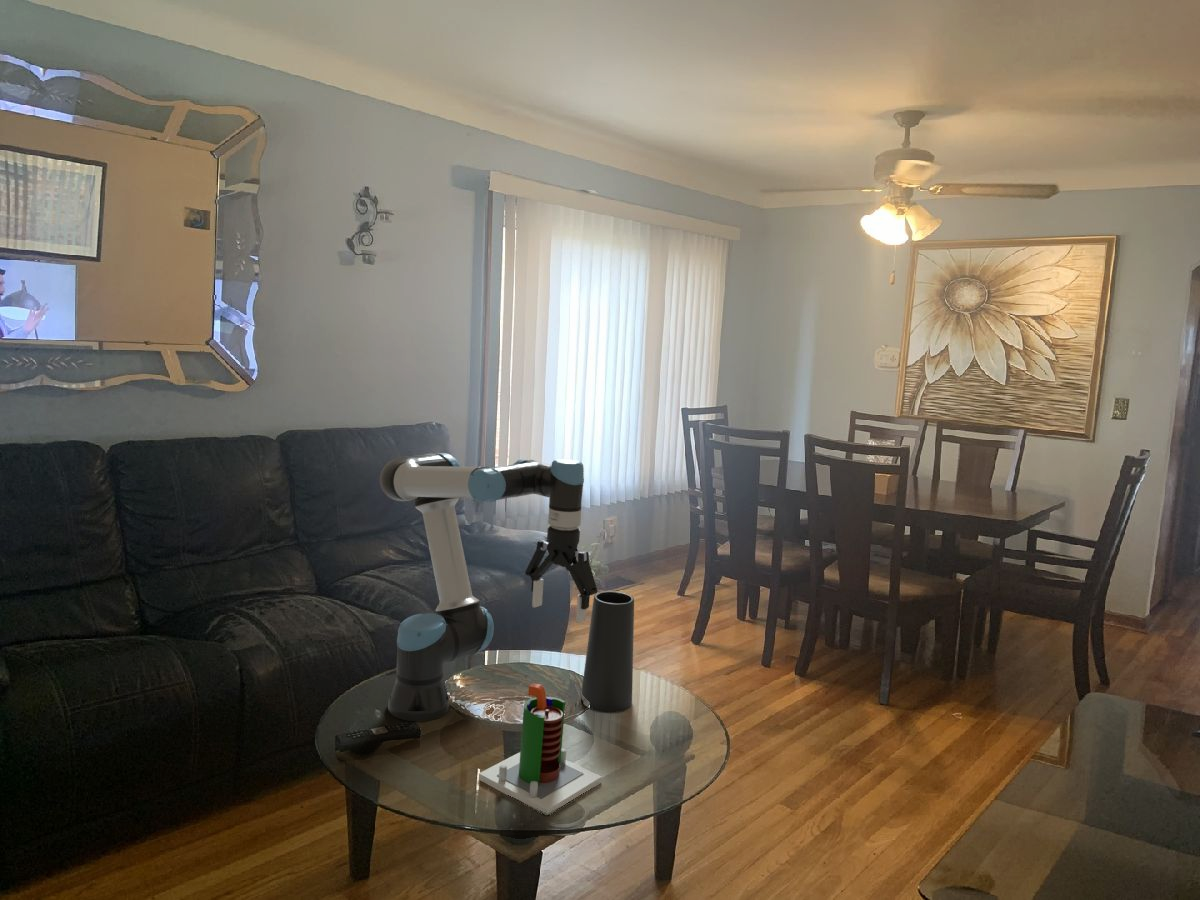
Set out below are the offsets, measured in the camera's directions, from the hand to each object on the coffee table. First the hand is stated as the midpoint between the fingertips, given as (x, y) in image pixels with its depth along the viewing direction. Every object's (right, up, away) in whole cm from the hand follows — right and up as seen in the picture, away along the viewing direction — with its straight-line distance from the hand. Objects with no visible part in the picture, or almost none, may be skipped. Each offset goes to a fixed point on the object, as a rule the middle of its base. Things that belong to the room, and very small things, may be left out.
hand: (558, 613), depth 209 cm
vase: (+11, -29, +27) cm, 41 cm away
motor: (-4, -33, -14) cm, 36 cm away
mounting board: (-3, -34, -14) cm, 37 cm away
